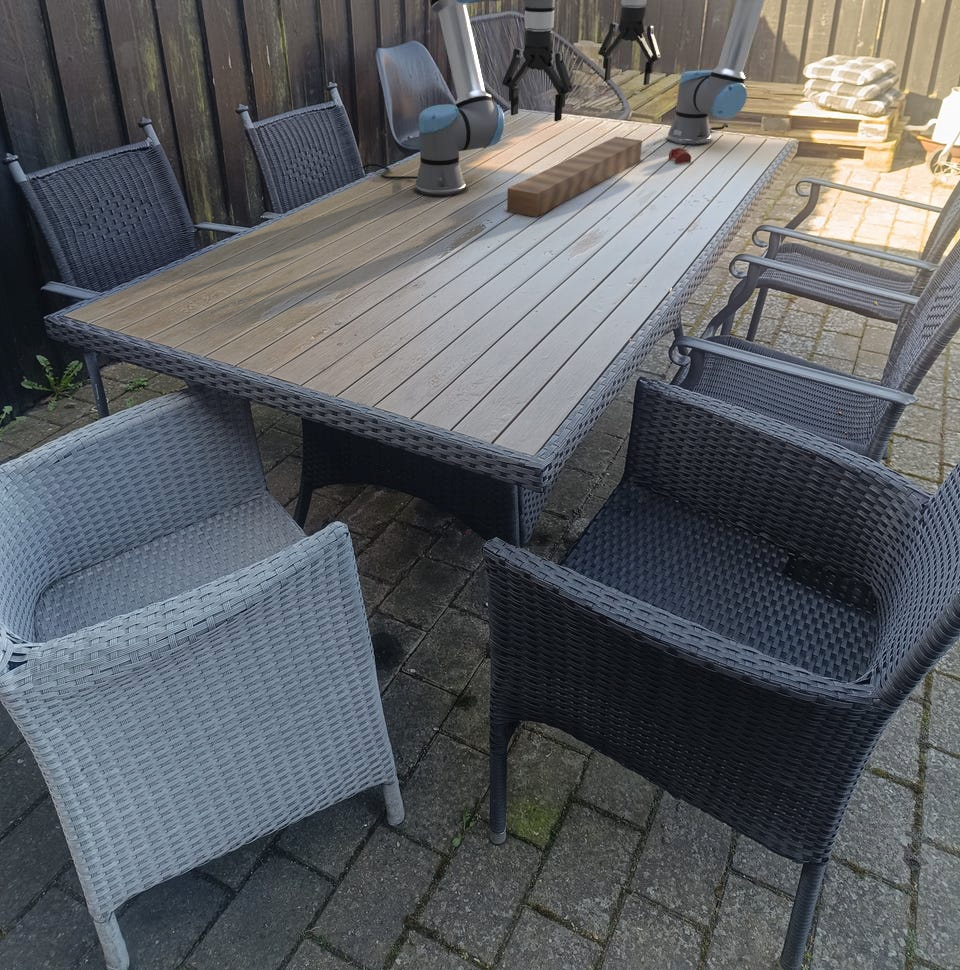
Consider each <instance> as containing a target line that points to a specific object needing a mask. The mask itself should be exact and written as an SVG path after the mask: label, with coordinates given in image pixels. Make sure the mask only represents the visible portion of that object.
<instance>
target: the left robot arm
mask: <svg viewBox="0 0 960 970" xmlns="http://www.w3.org/2000/svg"><path fill="white" fill-rule="evenodd" d="M500 1H502V0H429V2H430V6H431V10H432V11H433V12H434V13H436V14H437V15H438V19H439V22H440V23H439V24H440V27H441V32H442V37H443V42H444V45H445V49H446V55H447V58H448V59H447V60H448V64H449V67H450V71H451V76H452V81H453V85H454V89H455V90H454V91H455V93H456V98H457V99H456V100H455V102H454V104H453V103H452V104H449V103H444V104H437V105H432V106H429V107H426V108H425V109H423V110H422V111H421V112H420V114H419V116H418V118H419V119H418V136H419V138H418V139H419V157H420V158H419V159H420V161H419V162H420V164H419V168H418V172H417V175H416V176H415V175H394V176H393V175H391V176H390V175H387V174H388V173H390V171H391V169H390V168H389V167H388V166H385V165H383V164H380V163H379V164H378V163H373V162H371V163H365V164H364V165H363V166H362V167H361V169H364V170H365V169H366V168H368V167H378V168H382V169H384V170H385V171H383V172H382V173H380V177H381V178H383V179H387V180H390V179H391V180H400V179H401V180H402V179H403V180H404V179H405V180H415V183H414V184H415V185H414V186H415V192H417V193H418V194H420V195H424V196H430V197H450V196H455V195H459V194H461V193H463V192H464V191H466V181H465V179H464V176H463V172H462V169H461V165H460V152H463V151H469V150H477V149H481V148H482V149H486V148H488V147H492V146H496V145H497V144H498V143H499V142H500V141H501V139H502V137H503V134H504V132H505V131H504V130H505V124H506V123H505V122H506V121H505V115H504V111H503V109H502V108H501V106H500V105H499V104H497V103H494V102H493V98H492V97H493V96H492V95H491V94H490V93H488V92H487V91H486V89H485V84H484V80H483V76H482V70H481V66H480V61H479V57H478V52H477V48H476V42H475V38H474V33H473V30H472V24H471V21H470V16H469V11H468V5H469V4H474V3H483V2H500ZM524 3H525V4H524V25H523V26H524V28H525V30H524V33H523V46H524V49H522V47H517V48H514V49H513V51H512V58H511V60H510V63H509V65H508V68H507V70H506V72H505V75H504V77H503V79H502V83H501V84H502V86H505V87H507V89H508V102H510V116H516V115H518V114H519V95H520V94H519V93H520V92H519V89H520V88H519V87H517V86H518V84H519V83H520V82H521V80H522V79H523V78H524V77H525V75H526V74H527V73H528V71H529V70H537V71H543V72H544V73H545V74H546V75H547V78H549V81H550V82H551V84H552V85H553V87H554V89H555V91H556V92H557V93H556V94H555V96H554V115H553V116H554V117H553V118H554V119H553V121H554V122H556V123H557V122H559V121H561V120H562V116H563V109H564V108H565V107H566V95H567V94H568V93H572V92H573V90H574V88H573V85H572V83H571V79H570V76H569V73H568V70H567V66H566V64H565V58H564V56H565V55H564V52H563V51H559V52H553V46H554V30H553V28H554V26H555V5H556V0H524ZM522 58H524V60H525V61H524V62H523V63H522V65H521V67H520V68H519V69H518V71H517V68H518V67H519V64H520V61H521V59H522ZM552 60H553V62H554V63H555V66H554V64H553V62H552ZM555 67H556V69H555ZM556 70H557V72H556ZM516 71H517V72H516Z"/></svg>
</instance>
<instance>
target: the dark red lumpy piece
mask: <svg viewBox="0 0 960 970" xmlns="http://www.w3.org/2000/svg"><path fill="white" fill-rule="evenodd" d="M668 160H674V161H673V162H674V164H682V163H683V164H684V163H691V162H692V155H691V153H690V151H689V150H687V149H684V148H683V147H680V146H679V147H674V148H671V149H670V151H669V153H668Z"/></svg>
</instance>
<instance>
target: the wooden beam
mask: <svg viewBox="0 0 960 970" xmlns="http://www.w3.org/2000/svg"><path fill="white" fill-rule="evenodd" d="M642 146H643V140H640V139H634V138H627V137H620V136H614V137H612V138H610V139H608V140H605V141H604V142H602V143H599V144H598V145H595V146H593V147H591V148H589V149H587V150H585V151H583V152H581V153H579V154H576V155H574V156H572V157H569V158H568V159H565V160H564V161H562V162H559V163H558V164H556V165H553V166H551V167H549V168H547V169H545V170H542V171H541V172H539V173H537V174H535V175H532V176H531V177H528V178H526V179H524V180H522V181H520V182H517V183H516V184H514V185H511V186H510V187H507V193H506V194H507V195H506V196H507V200H506V211H507V212H510V213H515V214H519V215H524V216H529V217H534V218H538V217H539V216H542V215H543V214H545V213H547V212H548V211H550V210H552V209H554V208H556V207H558V206H560V205H561V204H563V203H565V202H567V201H569V200H571V199H573V198H574V197H576V196H578V195H580V194H581V193H583V192H585V191H587V190H590V189H591V188H592V187H595V186H596V185H598V184H600V183H602V182H604V181H605V180H607V179H609V178H611V177H613V176H614V175H616V174H618V173H620V172H622V171H623V170H626V169H628V168H629V167H631V166H633V165H634V164H636V163H639V162H640V161H641V154H642Z"/></svg>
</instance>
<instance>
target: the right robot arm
mask: <svg viewBox="0 0 960 970" xmlns="http://www.w3.org/2000/svg"><path fill="white" fill-rule="evenodd" d="M765 1H766V0H736V2H735V5H734V10H733V13H732V16H731V20H730V23H729V26H728V30H727V34H726V37H725V40H724V44H723V47H722V51H721V54H720V58H719V61H718V64H717V66H716V67H715V68H713V69H704V70H701V69H700V70H689V71H684V72H683V73H682V74H681V75H680V80H679V83H678V90H677V91H678V92H677V98H676V99H677V100H676V107H675V109H676V110H675V117H674V119H673V121H672V123H671V126H670V128H669V131H668V133H667V140H668V141H669V142H671V143H675V144H678V145H689V146H693V145H694V146H696V145H698V146H699V145H705V144H709V143H710V142H711V137H712V135H711V133H712V131H720V130H723V129H725V128H729V124H728V123H727V122H726V123H723V125H721V126H714V127H710V121H709V116H712V117H714V118H717V119H724V120H728V119H729V120H730V119H732V118H734V117H735V116H736V115H738V114H739V113H740V112H741V111H742V110H743V108H744V106H745V104H746V102H747V98H748V92H747V87H746V86H745V85H744V84H745V81H746V76H745V74H744V69H745V66H746V62H747V59H748V56H749V53H750V50H751V46H752V43H753V40H754V37H755V35H756V34H755V33H756V30H757V27H758V24H759V20H760V17H761V14H762V11H763V7H764V4H765ZM620 4H621V7H620V15H619V16H620V17H619V23H617V22H616V21H614V22H611V23H610V24H609V27H608V32H607V34H606V36H605V38H604V40H603V41H602V44H601V46H600V48H599V50H598V55H599V56H602V58H603V62H602V69H603V70H604V81H605V82H607V81H610V80H611V75H612V74H611V73H612V59H613V56H611V55H612V54H613V53H614V51H615V50H616V49H617V48H618V47H619V45H620V44H621V43H622V42H623V41H631V42H635V41H636V43H637V44H638V45H639V47H640V49H641V50H642V52H643V55H644V56H645V58H646V60H647V61H645V66H644V67H645V68H644V75H643V83H642V84H643V86H648V85H650V79H651V74H652V73H653V72H654V67H655V62H656V61H658V60H660V59H661V57H662V56H661V53H660V50H659V45H658V43H657V39H656V36H655V29H654V28H655V26H654V25H653V24H651V25H647V26H645V19H646V10H647V9H646V7H645V6H646V5H647V0H621V3H620ZM617 31H619V33H618V35H617V36H616V38H615V40H614V41H613V42H612V43H611V41H612V39H613V37H614V35H615V33H616V32H617ZM644 32H645V34H646V36H647V40H648V43H647V41H646V39H645V36H644V34H643V33H644ZM610 43H611V45H610Z"/></svg>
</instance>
